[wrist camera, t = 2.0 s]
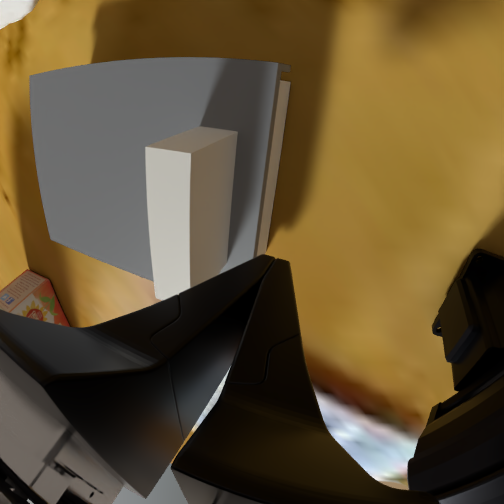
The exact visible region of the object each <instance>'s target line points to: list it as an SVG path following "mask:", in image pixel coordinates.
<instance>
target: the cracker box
mask: <svg viewBox="0 0 504 504" xmlns="http://www.w3.org/2000/svg"><path fill="white" fill-rule="evenodd" d="M0 309H1V310H4V311H6V312H9V313H13V314H16V315H20V316H24V317H28V318H32V319H36V320H41V321H45V322H49V323H54V324H58V325H63V326H68V327H70V325H69V323H68V321H67V319H66V317H65V315H64V313H63V311H62V308H61V306H60V304H59V302H58V299H57V297H56V295H55V292H54V290H53V288H52V285H51V283H50V281H49V279H47V278H44V277H42V276H40V275H38V274H36V273H34V272H32V271H30V270H28V269H27V270H26V271H24V272H23V273H22V274H21V275H20V276H18V277H17V278H16V279H14V280H13V281H12V282H11V283H10V284H9V285H7V286H6V287H5V288H4V289H2V290H1V291H0Z"/></svg>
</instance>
